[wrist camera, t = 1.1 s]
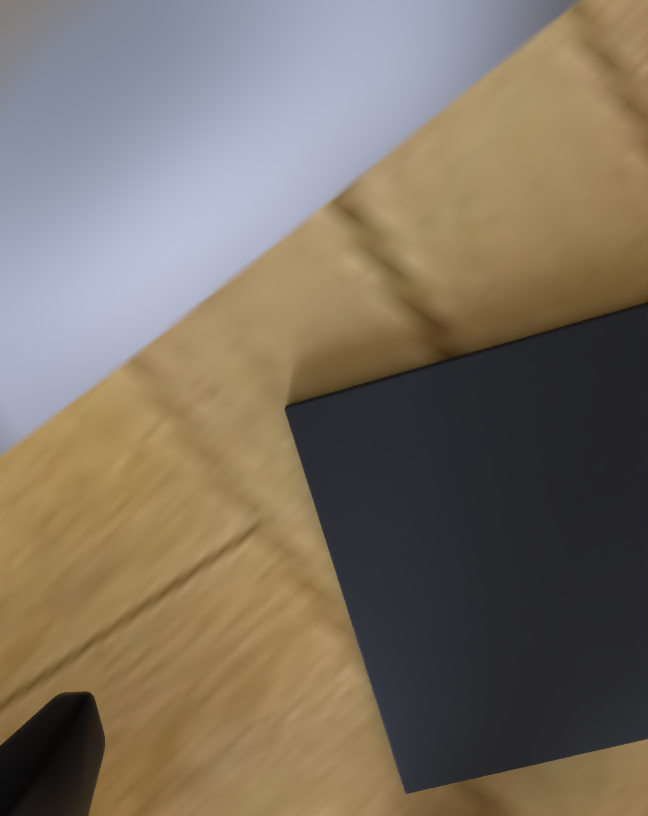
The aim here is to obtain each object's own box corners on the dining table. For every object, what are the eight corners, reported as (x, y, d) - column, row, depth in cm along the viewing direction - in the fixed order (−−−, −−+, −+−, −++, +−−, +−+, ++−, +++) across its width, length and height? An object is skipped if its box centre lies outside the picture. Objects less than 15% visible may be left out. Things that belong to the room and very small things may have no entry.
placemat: (890, 673, 23) (902, 681, 23) (403, 785, 25) (405, 794, 25) (846, 245, 20) (859, 243, 20) (285, 405, 22) (284, 408, 21)
